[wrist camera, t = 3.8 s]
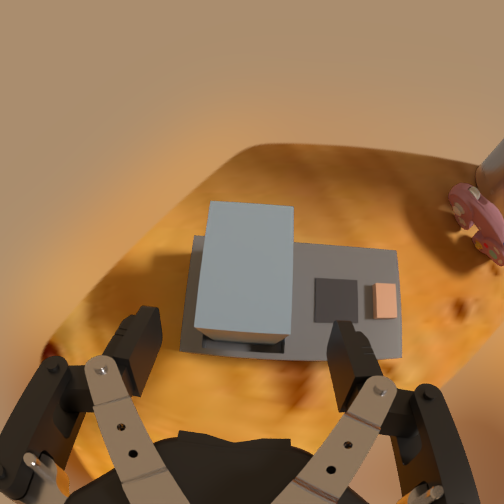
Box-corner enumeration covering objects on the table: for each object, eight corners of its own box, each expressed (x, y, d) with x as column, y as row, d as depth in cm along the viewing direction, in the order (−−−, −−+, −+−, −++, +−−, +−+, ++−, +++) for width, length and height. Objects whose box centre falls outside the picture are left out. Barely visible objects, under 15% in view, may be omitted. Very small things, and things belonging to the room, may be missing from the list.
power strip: (378, 265, 23) (399, 247, 20) (381, 359, 21) (405, 357, 17) (201, 253, 24) (192, 231, 20) (189, 352, 21) (177, 350, 17)
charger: (276, 264, 22) (293, 206, 14) (272, 345, 20) (290, 334, 12) (222, 260, 22) (210, 200, 14) (214, 341, 20) (194, 327, 12)
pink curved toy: (432, 208, 28) (450, 191, 21) (455, 183, 27) (475, 162, 20) (482, 274, 25) (510, 273, 18) (504, 247, 24) (533, 241, 17)
